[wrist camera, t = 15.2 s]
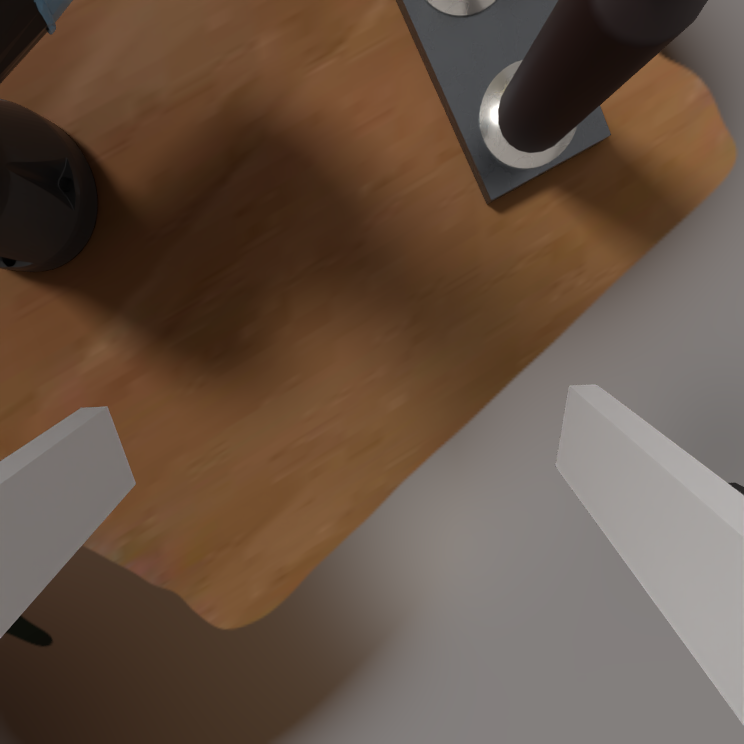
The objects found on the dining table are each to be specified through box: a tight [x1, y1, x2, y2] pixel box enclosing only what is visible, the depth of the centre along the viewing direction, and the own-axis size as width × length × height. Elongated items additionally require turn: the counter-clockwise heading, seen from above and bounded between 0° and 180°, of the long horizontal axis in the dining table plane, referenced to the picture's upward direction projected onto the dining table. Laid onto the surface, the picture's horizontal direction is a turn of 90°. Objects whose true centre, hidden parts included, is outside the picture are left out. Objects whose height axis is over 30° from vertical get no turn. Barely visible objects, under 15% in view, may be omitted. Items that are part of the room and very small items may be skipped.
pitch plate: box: [396, 0, 611, 204], centre depth 32 cm, size 24×12×6 cm, turn 28°
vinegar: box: [498, 0, 708, 153], centre depth 24 cm, size 7×7×20 cm
